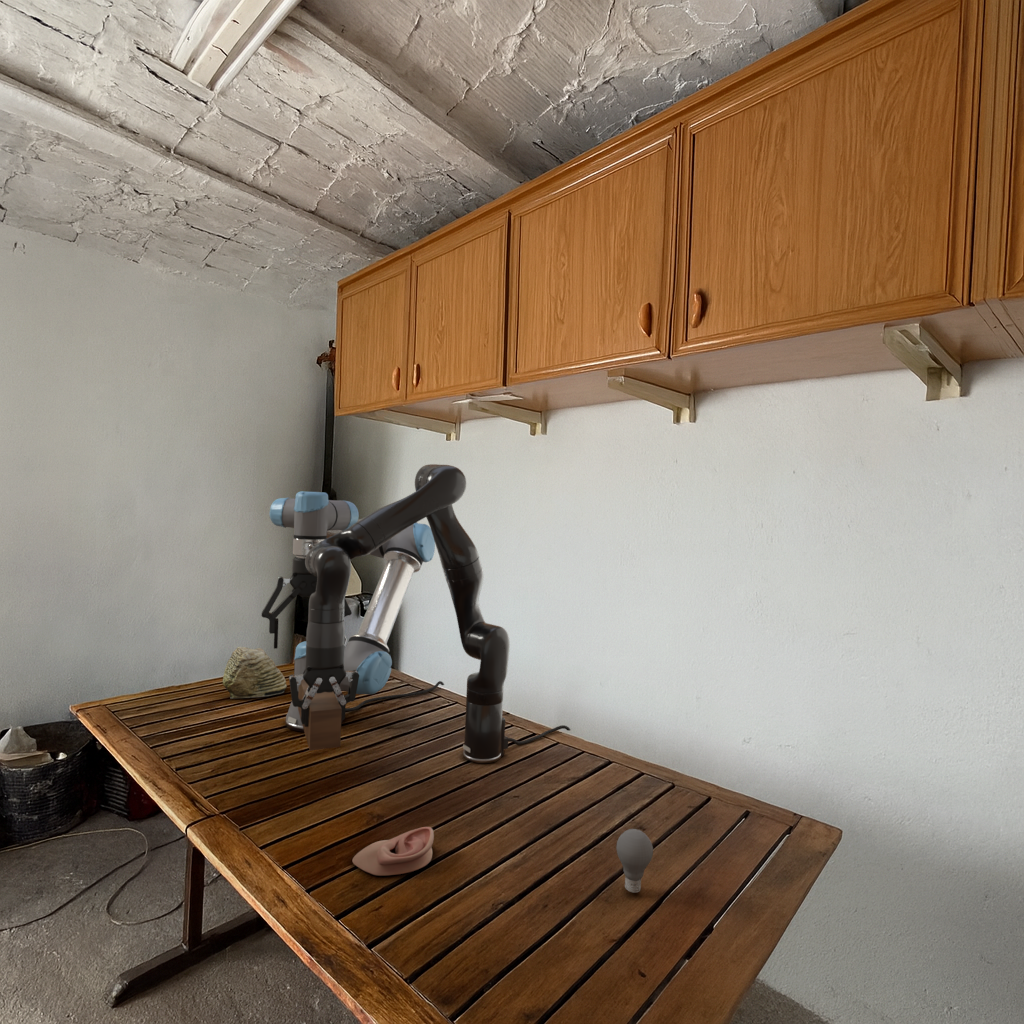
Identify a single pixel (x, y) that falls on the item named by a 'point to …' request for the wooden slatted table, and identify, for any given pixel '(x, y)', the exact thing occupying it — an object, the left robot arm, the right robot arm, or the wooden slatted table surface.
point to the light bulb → (634, 857)
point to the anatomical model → (397, 853)
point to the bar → (322, 720)
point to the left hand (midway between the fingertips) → (306, 646)
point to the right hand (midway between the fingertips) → (323, 723)
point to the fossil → (252, 674)
